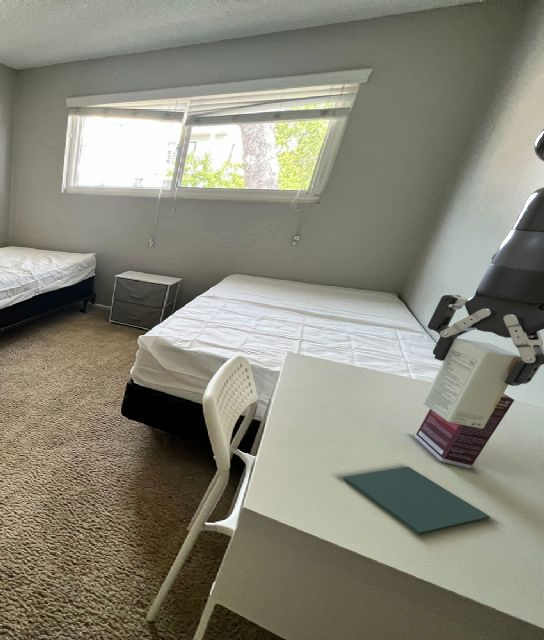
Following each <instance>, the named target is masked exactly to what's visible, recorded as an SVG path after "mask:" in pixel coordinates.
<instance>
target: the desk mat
mask: <svg viewBox="0 0 544 640" xmlns="http://www.w3.org/2000/svg"><path fill="white" fill-rule="evenodd" d="M343 481H345V482H346V483H348V484H349V485H350V486H352V487H353V488H354V489H355V490H357V491H359V492H360V493H361V494H362V495H364V496H365V497H366V498H368V499H369V500H370V501H372V502H373V503H374V504H376V505H377V506H379V507H380V508H382V510H384V511H385V512H387V513H388V514H389V515H391V516H392V517H394V518H395V519H396V520H397V521H399V522H400V523H402V524H403V525H405V527H407V528H408V529H410V530H411V531H412V532H413V533H415V534H417V535H418V536H421V535H425V534H430V533H433V532H439V531H443V530H447V529H451V528H456V527H460V526H464V525H468V524H473V523H478V522H481V521H486V520H489V519H490V518H491V516H490V515H489V514H488V513H486V512H484V511H482V510H480V509H479V508H477V507H476V506H474V505H472V504H471V503H470V502H469V503H468V501H466V500H465V499H462V498H460V497H459V496H458V495H455V494H454V493H453V492H451V491H449V490H448V489H446V488H445V487H443V486H441V485H440V484H437V483H436V482H434V481H433V480H431V479H430V478H428V477H426V476H424V475H423V474H421V473H419V472H418V471H416V470H414V469H413V468H411V467H410V466H403V467H397V468H391V469H385V470H379V471H378V470H377V471H371V472H366V473H365V472H364V473H360V474H359V473H358V474H353V475H347V476H344V477H343Z"/></svg>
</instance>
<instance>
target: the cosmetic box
mask: <svg viewBox="0 0 544 640" xmlns="http://www.w3.org/2000/svg"><path fill="white" fill-rule="evenodd" d="M517 361H522V359H521V356H520V354H516V353H515V352H512V351H510V350H506V349H505V348H502V347H499V346H496V345H494V344H492V343H490V342H483V341H478V340H472V339H471V340H470V339H464V338H458V337H457V338H455V339H454V341H453V343H452V345H451V347H450V349H449V351H448V353H447V355H446V357H445V359H444V361H442V363H441V365H440V367H439V369H438V371H437V373H436V374H435V377H434V379H433V381H432V383H431V385H430V387H429V389H428V391H427V393H426V395H425V397H424V399H423V401H422V405H424V406H425V407H427V408H429V410H430V409H431V410H433V411H434V412H435V413H437V414H438V415H439V416H441V417H442V418H444V419H445V420H447V421H448V422H451V423H456V424H461V425H466V426H471V427H476V428H482V429H483V428H484V426H485V425H486V423H487V421H488V419H489V418H490V416H491V414H492V413H493V411H494V409H495V407H496V406H497V404H498V402H499V400H500V399H501V397H502V395H503V394H505V392H506V390H507V388H508V386H509V385H508V384H505V380H506V379H507V377H508V376H509V374H510V372H511V371H512V369H513V368H514V366H515V364H516V363H517Z"/></svg>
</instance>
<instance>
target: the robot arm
mask: <svg viewBox="0 0 544 640" xmlns="http://www.w3.org/2000/svg"><path fill="white" fill-rule="evenodd" d="M534 153H535V155H536V156H537V157H538V159H539V160H541V161H542V162H544V128H543V129H542V130H541V131H540V132H539V134H538V136H537V137H536V140H535V142H534ZM463 307H465V310H466V312H467V314H468V316H466V317H464V318H463V319H460V320H458V321H456V322H454V323H452V325H450V324H451V321H452V320H453V317H454V315H455V313H456V311H458V310H461V309H462V308H463ZM449 325H450V326H449ZM427 328H428V329H429V330H431V331H434V332H436V333H437V334H438V335H439V338H438V340H437V342H436V344H435V346H434V348H433V350H432V355H434V359H435V360H437V361H440V362H441V361H442V362H443V361H444V359H445V357H446V355H447V353H448V351H449V349H450V347H451V345H452V343H453V341H454V339H455V338H457V339H458V338H459V337H461V336H462V335H465V334H468V332H471V331H475V330H477V331H480V332H483V333H484V332H485V333H492V334H495V336H498V337H502V338H505V339H509V338H510V339H511V340H512V343H513V346H514V347H515V348H517V351H518V353H519V356H521V359H522V361H517V363H516V364H515V366H514V368H513V369H512V371H511V372H510V374H509V376H508V377H507V379H506V380H505V384H508V386H511V387H517V386H521V385H526V384H528V383H530V382H531V381H532V379H533V378H534V377H535V375H536V374H537V372H538V370H539V369H540V367H541V366H543V365H544V348H543V345H544V341H543V339H542V337H541V334H540V331H542V330H544V187H541V188H538V189H536V190H535V191H533V192H532V193H531V194H530V195H529V197H528V198H527V200H526V202H525V203H524V205H523V206H522V208H521V211H520V213H519V215H518V216H517V218H516V220H515V222H514V224H513V226H512V227H511V230H510V231H509V233H508V234H507V236H506V237H505V238H504V239H503V241H502V242H501V244H500V245H499V247H498V248H497V250H496V252H495V253H493V255H492V257H491V261H490V263H489V265H488V267H487V268H486V271H485V273H484V275H483V277H482V279H481V280H480V282H479V284H478V286H477V288H476V290H475V293H474V295H473V296H471V297H470V298H467V297H463V296H461V295H460V294H444V295H442V296H441V297H440V299H439V302H438V304H437V305H436V307H435V310H434V312H433V313H432V316H431V317H430V320H429V322H428V324H427Z"/></svg>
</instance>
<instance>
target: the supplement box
mask: <svg viewBox="0 0 544 640" xmlns="http://www.w3.org/2000/svg"><path fill="white" fill-rule="evenodd" d="M514 402H515V399H514V398H512V397H511V396H509V395H507V394H505V393H504V394H503V395H502V397H501V399H500V400H499V402H498V404H497V406H496V407H495V409H494V411H493V413H492V414H491V416H490V418H489V419H488V421H487V423H486V425H485V426H484V428H483V429H482V428H476V427H471V426H466V425H461V424H456V423H451V422H448V421H447V420H445V419H444V418H442V417H441V416H439V415H438V414H437V413H435V412H434V411H433V410H431V409H430V408H429V410H428V412H427V414H426V415H425V417H424V419H423V421H422V422H421V425H420V427H419V428H418V430H417V432H416V434H415V435H414V438H415V439H416V440H417V441H418V442H419V443H420V444H421V445H422V446H424V447H425V449H427V450H428V451H429V452H430V453H431V454H432V455H433V456H434V457H435V458H437V459H438V460H439V462H440V463H441V462H442V463H445V464H449V465H452V466H455V467H461V468H465V469H471V468H472V467H473V465H474V464H475V462H476V461H477V459H478V457H479V456H480V454H481V453H482V451H483V450H484V448H485V446H486V445H487V444H488V442H489V440H490V439H491V437H492V436H493V435H494V433H495V431H496V430H497V428H498V427H499V425H500V423H501V422H502V420H503V419H504V417H505V415H506V414H507V413H508V411H509V410H510V408H511V406H512V405H513V403H514Z"/></svg>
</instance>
